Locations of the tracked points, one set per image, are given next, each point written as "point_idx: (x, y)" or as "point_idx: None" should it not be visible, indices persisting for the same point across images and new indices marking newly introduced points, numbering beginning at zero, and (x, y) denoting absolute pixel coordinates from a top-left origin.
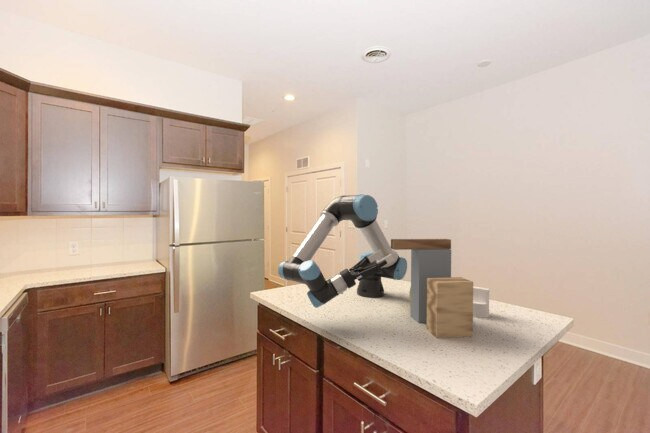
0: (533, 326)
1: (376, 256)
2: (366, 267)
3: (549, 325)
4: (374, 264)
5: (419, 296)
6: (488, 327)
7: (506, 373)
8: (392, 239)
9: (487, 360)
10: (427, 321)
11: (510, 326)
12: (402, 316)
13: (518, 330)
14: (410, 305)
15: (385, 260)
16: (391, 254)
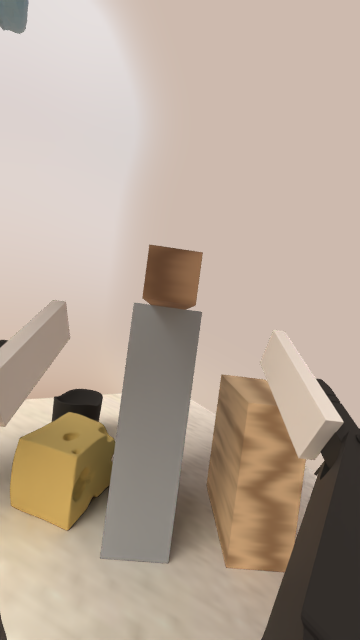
0: (196, 415)
1: (43, 353)
2: (339, 575)
3: (192, 406)
4: (352, 456)
5: (180, 471)
6: (201, 449)
7: None
8: (173, 248)
9: None
10: (235, 540)
11: (196, 429)
12: (86, 594)
13: (211, 431)
14: (20, 505)
15: (323, 381)
16: (284, 333)
